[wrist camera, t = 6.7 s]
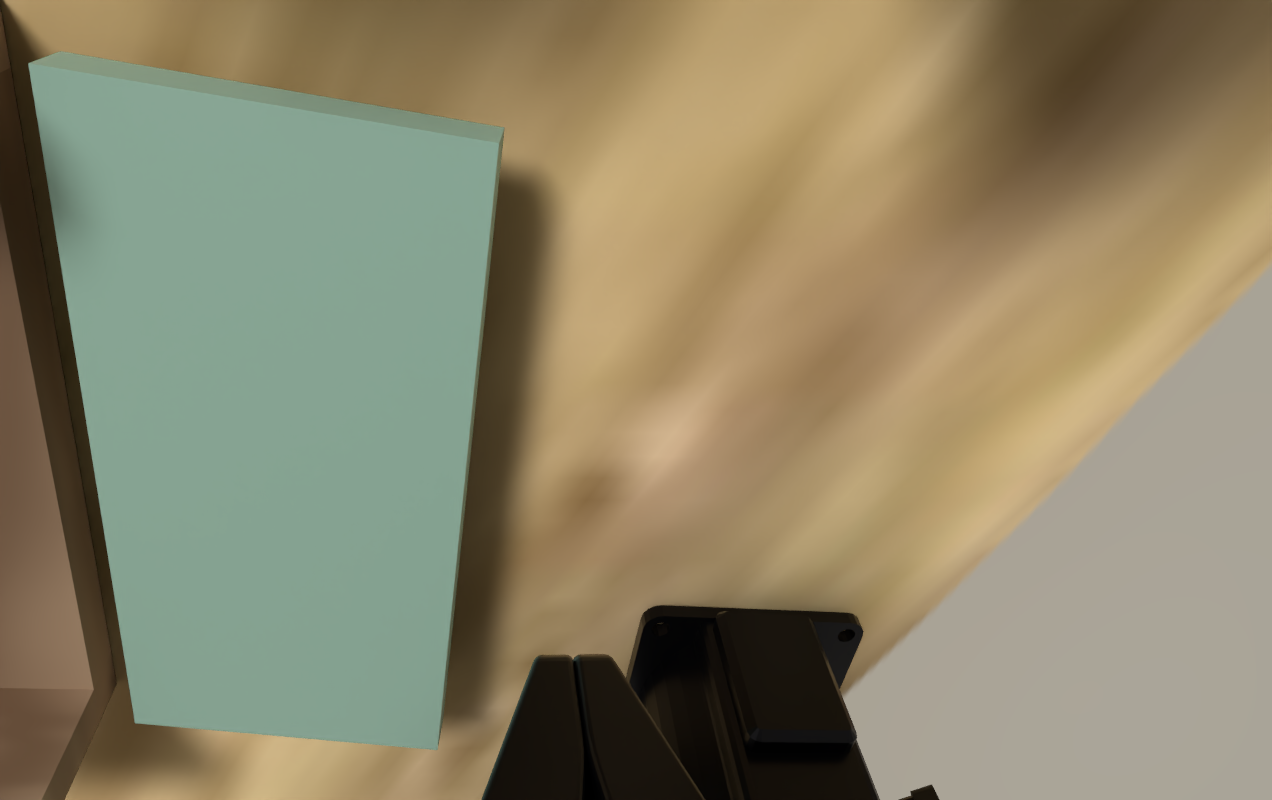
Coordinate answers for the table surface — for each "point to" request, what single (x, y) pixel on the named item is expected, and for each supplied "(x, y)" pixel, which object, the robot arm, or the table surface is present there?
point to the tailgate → (274, 387)
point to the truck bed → (40, 516)
